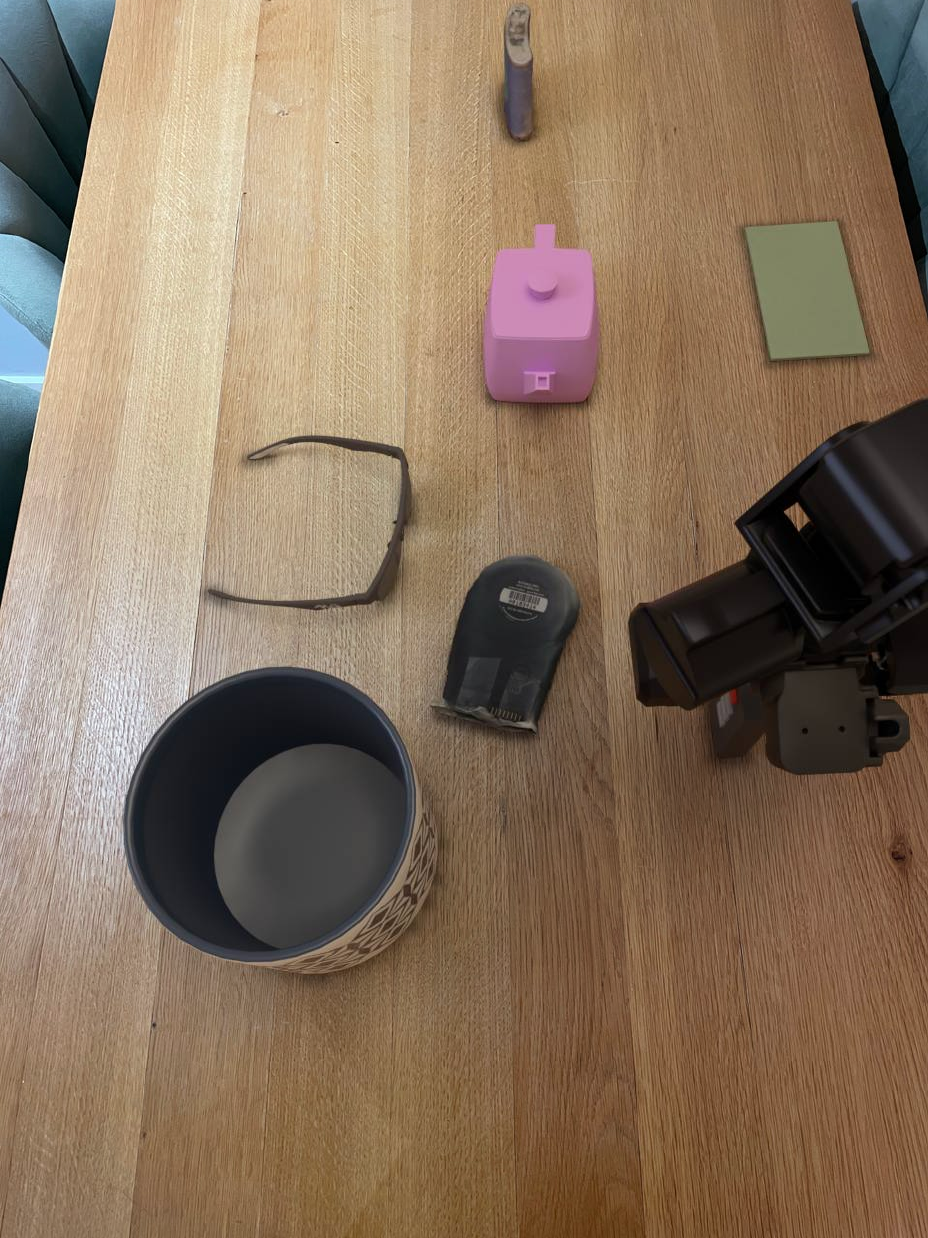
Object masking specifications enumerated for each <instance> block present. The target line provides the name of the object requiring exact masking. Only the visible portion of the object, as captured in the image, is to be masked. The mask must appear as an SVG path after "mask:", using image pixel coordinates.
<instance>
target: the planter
mask: <svg viewBox="0 0 928 1238" xmlns="http://www.w3.org/2000/svg"><path fill="white" fill-rule="evenodd" d="M136 763H137V764H136V766H135V768H134V770H133V773H132V775H131V779H130V782H129V784H128V785H129V786H128V789H127V793H126V795H125V801H124V802H125V803H124V811H123V817H122V833H123V834H122V835H123V848H124V854H125V858H126V864H127V868H128V871H129V875H130V876H131V878H132V882H133V884H134V887H135V890H136V891H137V892H138V894H139V896H140V898H141V899H142V902H143V903H144V905H145V906H146V908H147V910H148V911H149V912H150V913H151V915H153V917H154V918H155V919H156V920H157V921H158V923H160V925H161V926H162V927H163V928H164V929H166V930H167V931H168V932H169V933H170V934H171V935H173V936H174V937H176V938H177V940H179V941H180V942H182V943H183V944H186V945H188V946H189V947H191V948H193V949H194V950H196V951H199V952H200V953H202V954H205V955H208V956H211V957H214V958H217V959H220V960H222V961H228V962H231V963H237V964H243V965H248V966H253V967H259V968H265V969H272V970H278V971H282V972H283V971H284V972H290V973H296V974H297V973H298V974H304V975H305V974H326V973H332V972H338V971H342V970H346V969H348V968H351V967H354V966H358V965H360V964H362V963H364V962H366V961H368V960H369V959H371V958H373V957H375V956H376V955H378V954H380V953H381V952H383V951H384V950H385V949H387V948H388V947H389V946H390V945H391V944H393V943H394V942H395V941H396V940H397V939H398V938H399V937H401V935H402V934H403V933H404V932H405V931H406V930H407V929H408V928H409V927H410V925H411V924H412V922H413V921H414V920H415V918H416V916H417V915H418V913H419V912H420V911H421V909H422V907H423V905H424V903H425V901H426V899H427V897H428V895H429V892H430V890H431V886H432V883H433V880H434V876H435V875H436V868H437V861H438V855H439V853H438V852H439V851H438V850H439V845H438V843H439V842H438V841H439V839H438V838H439V836H438V835H439V834H438V828H437V822H436V817H435V816H436V815H435V812H434V809H433V806H432V803H431V800H430V797H429V794H428V793H427V789H426V787H425V785H424V783H423V781H422V778H421V775H420V773H419V770H418V769H417V766H416V764H415V762H414V759H413V757H412V755H411V753H410V751H409V748H408V746H407V745H406V743H405V741H404V739H403V737H402V735H401V733H400V731H399V729H398V728H397V726H396V725H395V723H394V722H393V720H392V719H391V717H390V716H389V715H388V714H387V712H386V711H385V710H384V709H383V708H382V707H381V705H379V704H378V703H377V702H376V701H375V700H374V699H373V698H372V697H371V696H369V695H368V694H367V693H365V692H364V691H363V690H361V689H360V688H358V687H357V686H355V685H354V684H352V683H350V682H348V681H347V680H344V679H342V678H340V677H338V676H335V675H334V674H331V673H327V672H324V671H321V670H317V669H313V668H307V667H299V666H291V665H287V666H285V665H284V666H265V667H260V668H254V669H249V670H245V671H242V672H239V673H235V674H233V675H230V676H227V677H223V678H222V679H219V680H218V681H216V682H214V683H212V684H210V685H208V686H206V687H204V688H203V689H201V690H200V691H198V692H196V693H195V694H193V695H192V696H191V697H189V698H188V699H186V700H185V701H184V702H183V703H182V704H181V705H179V707H177V709H175V710H174V711H173V712H172V713H171V714H170V715H169V716H168V717H167V718H166V719H165V720H164V721H163V723H162V724H161V725H160V726H159V728H158V729H157V730H156V731H155V732H154V734H153V735H152V737H151V738H150V740H149V741H148V743H147V745H146V746H145V748H144V749H143V751H142V752H141V754H140V757H139V759H138V761H137V762H136Z"/></svg>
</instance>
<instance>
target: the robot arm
mask: <svg viewBox="0 0 928 1238" xmlns="http://www.w3.org/2000/svg"><path fill="white" fill-rule="evenodd" d="M796 504H797V505H798V507H799V508H800V509H801V511H802V512H803V514H804V515H805V516H806V518H807V519H808V521H807V522H806V523H805V524H804V525H803V526H802V527H800V529H798V528H797V526H796V525H795V523H794V522H793V520H791V519H792V518H790V516H789V515H788V514H787V513H786V511H788V509H790V508H792V507H793V506H794V505H796ZM733 525H734V526H735V527H736V529H737V531H738V532H739V533H740V535H741V537H742V538H743V540H744V541H745V542H746V544H747V545H748V547H749V548H750V549H749V551H748V553H747V555H746V557H745V558H743V559H741V560H739V561H737V562H734V563H732V564H730V565H727V566H726V567H724V568H722V569H719V570H717V571H715V572H713V573H711V574H709V575H707V576H704V577H702V578H700V579H698V580H696V581H693V582H691V583H689V584H687V585H685V586H682V587H680V588H678V589H676V590H674V591H672V592H670V593H668V594H666V595H663V596H661V597H659V598H658V599H655V600H653V601H647V602H638V603H637V604H636V606H635V607H634V608H633V609H632V610H631V611H630V614H629V617H628V621H627V628H628V637H629V646H630V655H631V665H632V672H633V673H632V675H633V684H634V692H635V693H634V694H635V700H637V701H638V702H639V703H640V704H642V705H643V706H644V707H645V708H654V707H656V708H657V707H666V708H669V707H672V708H673V707H679V708H681V709H682V710H684V711H686V712H691V711H693V710H695V709H697V708H699V707H702V706H705V705H706V704H709V702H710V701H712V700H714V699H716V698H718V697H720V696H722V695H724V694H726V693H728V692H731V691H733V690H735V689H737V688H739V687H741V686H743V685H745V684H747V683H749V682H750V686H751V692H760V695H761V701H762V702H763V703H764V721H765V733H764V735H765V744H764V748H765V756H766V759H767V761H768V763H769V764H771V765H772V766H773V767H774V768H777V769H779V770H782V771H785V772H786V773H790V774H792V775H795V776H815V775H816V776H817V775H832V774H833V775H834V774H836V775H837V774H855V773H858V772H861V771H862V770H864V769H865V768H879V767H881V768H882V767H883V764H884V757H885V755H887V754H888V753H898V752H900V751H901V750H902V749H903V748H904V747H905V746H906V744H907V743H909V741H910V740H911V725H910V724H911V723H910V715H908V714H907V713H906V711H905V710H904V709H903V708H902V706H901V705H900V704H899V702H898V701H896V699H892V698H881V697H899V696H914V695H923V694H924V695H926V694H928V397H922V398H918V399H915V400H913V401H911V402H909V403H907V404H905V405H904V406H901V407H900V408H898V409H895V410H893V411H892V412H890V413H887V414H886V415H883V416H882V417H880V418H878V419H875V420H874V421H870V420H861V421H858V422H854V423H852V424H850V425H848V426H846V427H844V428H842V429H840V430H838V431H837V432H836V433H834V434H832V435H830V437H828V438H826V440H824V441H823V442H822V443H820V445H818V446H817V447H816V448H814V449H813V450H812V451H811V452H810V453H809V454H808V455H807V456H806V457H804V458H803V459H802V460H801V462H799V463H798V464H797V465H795V466H794V468H793V469H791V470H790V471H789V472H788V473H787V474H786V475H784V476H783V478H781V479H780V480H779V481H778V482H777V483H776V484H775V485H774V486H773V487H771V488H770V489H769V490H768V491H767V492H766V493H765V494H764V495H762V496H761V497H760V498H759V499H758V500H757V501H756V502H755V503H754V504H753V505H752V506H750V507H749V508H748V509H747V510H746V511H744V513H743V514H741V515H740V516H739V517H738V518H737V519H736V520H735V521H734V523H733Z"/></svg>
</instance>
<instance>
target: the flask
mask: <svg viewBox="0 0 928 1238" xmlns="http://www.w3.org/2000/svg"><path fill="white" fill-rule="evenodd" d="M531 13H532V9H531V6H529V5H527V4H526V3H524V2H516V3H513V4H511V5H510V6H509V7H508V9H507V12H506V16H505V21H504V25H503V52H504V53H503V55H504V56H503V58H504V59H503V61H504V62H503V71H504V75H503V76H504V82H503V86H504V92H503V93H504V97H503V112H504V117H505V123H506V128H507V132H508V134H509V136H510V137H511V139H512V140H513V141H517V142H522V141H528V140H529V139H530V137H531V135H532V131H533V123H532V122H533V118H532V117H533V114H532V113H533V73H534V54H533V51H532V48H531V45H530V43H531V42H530V41H531V40H530V39H531V38H530V37H531V18H532V17H531V15H532V14H531Z"/></svg>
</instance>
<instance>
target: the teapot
mask: <svg viewBox="0 0 928 1238" xmlns="http://www.w3.org/2000/svg"><path fill="white" fill-rule="evenodd" d="M555 241H556V224H555V223H553V224H549V223H547V224H546V223H537V224H536V223H535V228H534V244H533V247H525V248H502V249H500V250H498V252H497V255H496V257H495V260H494V265H493V268H492V269H493V270H492V275H491V280H490V285H489V290H488V296H487V302H486V308H485V314H484V315H485V316H484V326H483V362H484V363H483V364H484V367H483V368H484V375H485V382H486V386H487V389H488V392H489V394H490V396H491V397H492V399H493V400H495V401H499V402H508V403H509V402H510V403H512V402H513V403H535V404H536V403H537V404H540V403H541V404H546V403H547V404H559V403H560V404H562V403H563V404H564V403H565V404H567V403H581V402H584V401H585V400H586V399H587V398H588V397H589V395H590V393H591V391H592V388H593V384H594V380H595V376H596V370H597V363H598V353H599V344H600V343H599V340H600V338H599V337H600V336H599V335H600V319H599V318H600V315H599V302H598V295H597V285H596V277H595V271H594V266H593V265H594V264H593V258H592V255H591V253H590V251H589V250H587V249H582V248H559V247H557V248H556V247H555V243H556V242H555Z"/></svg>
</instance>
